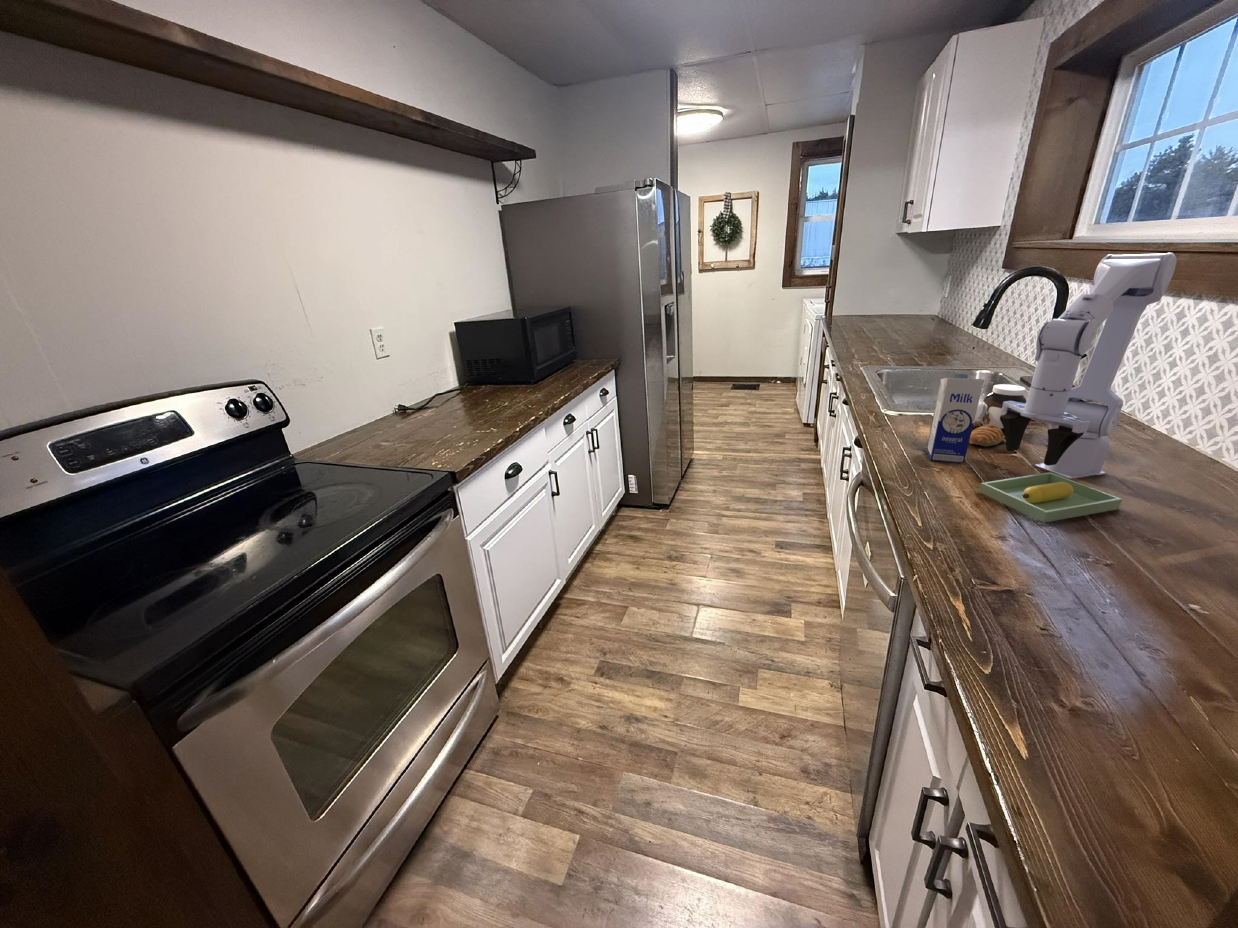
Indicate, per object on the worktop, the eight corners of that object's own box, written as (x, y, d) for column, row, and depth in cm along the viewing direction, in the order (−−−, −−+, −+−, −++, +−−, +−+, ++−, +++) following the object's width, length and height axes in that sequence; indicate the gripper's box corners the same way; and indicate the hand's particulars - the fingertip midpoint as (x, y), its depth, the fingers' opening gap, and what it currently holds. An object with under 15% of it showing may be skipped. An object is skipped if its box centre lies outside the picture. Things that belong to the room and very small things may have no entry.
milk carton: (929, 460, 118) (947, 377, 110) (925, 450, 123) (941, 370, 116) (964, 463, 115) (985, 378, 107) (958, 453, 121) (977, 372, 113)
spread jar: (1026, 434, 130) (1039, 391, 126) (982, 436, 131) (993, 393, 126) (995, 420, 141) (1005, 380, 137) (954, 422, 142) (963, 382, 137)
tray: (1046, 483, 104) (1050, 471, 103) (1117, 511, 92) (1122, 499, 91) (978, 494, 101) (981, 482, 100) (1042, 525, 89) (1046, 512, 88)
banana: (1057, 492, 99) (1062, 478, 97) (1074, 499, 96) (1080, 484, 94) (1013, 500, 97) (1017, 485, 95) (1029, 507, 94) (1033, 492, 92)
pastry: (991, 450, 122) (995, 435, 120) (960, 444, 127) (963, 429, 125) (1004, 441, 127) (1008, 426, 125) (974, 435, 132) (977, 421, 130)
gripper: (996, 381, 96) (979, 446, 101) (1074, 399, 83) (1051, 474, 88) (1026, 377, 97) (1008, 442, 102) (1108, 395, 84) (1083, 469, 89)
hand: (1030, 457), depth 95 cm, fingers open, 7 cm apart
